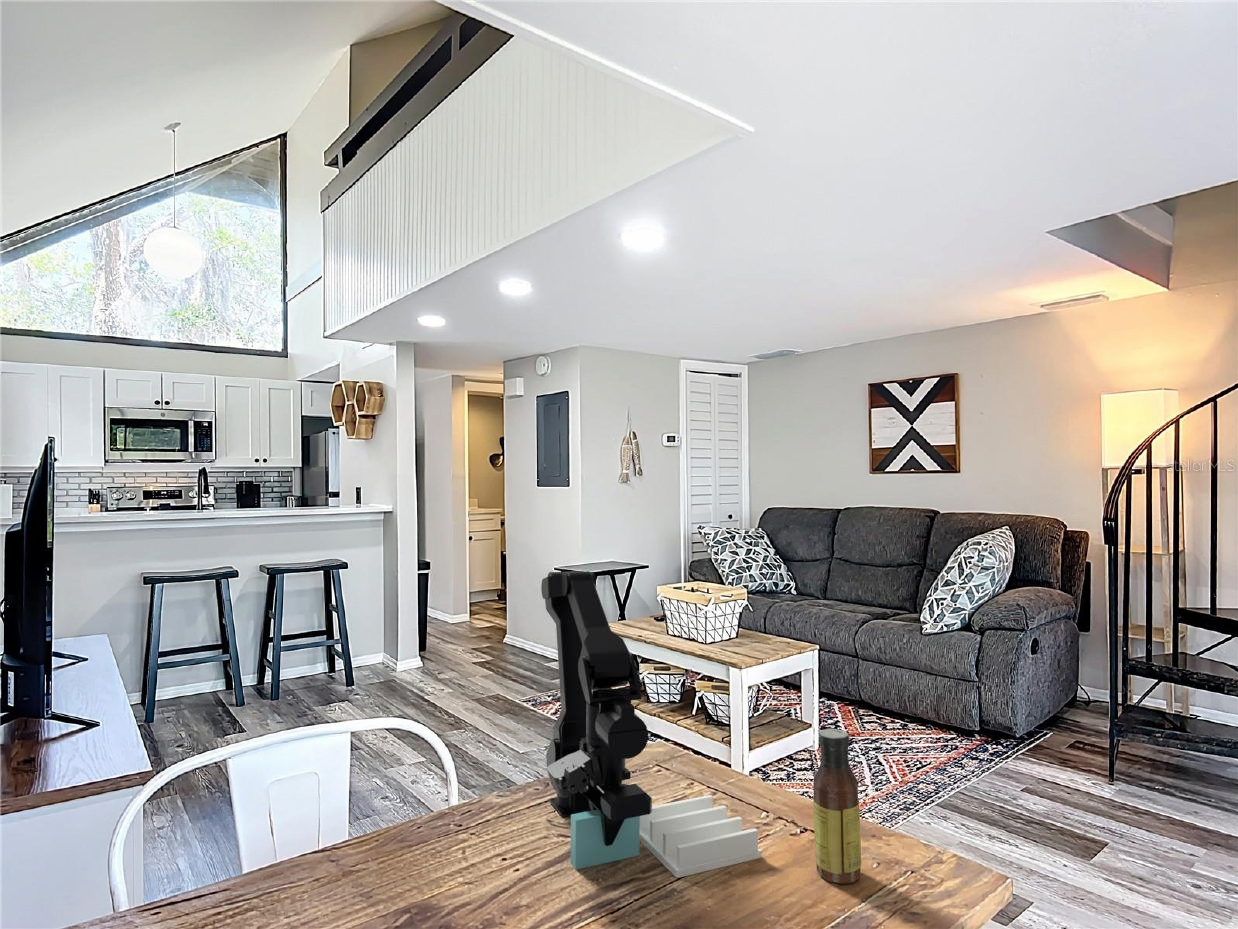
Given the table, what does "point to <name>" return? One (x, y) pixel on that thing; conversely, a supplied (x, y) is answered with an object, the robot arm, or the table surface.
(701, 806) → the dish rack
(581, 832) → the light blue block
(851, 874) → the sauce bottle
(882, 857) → the table surface
